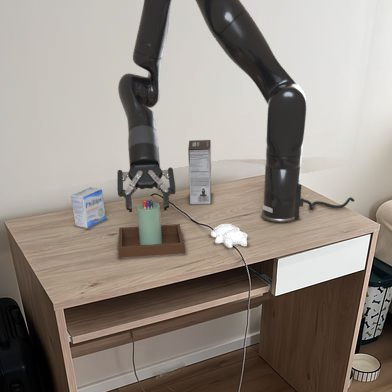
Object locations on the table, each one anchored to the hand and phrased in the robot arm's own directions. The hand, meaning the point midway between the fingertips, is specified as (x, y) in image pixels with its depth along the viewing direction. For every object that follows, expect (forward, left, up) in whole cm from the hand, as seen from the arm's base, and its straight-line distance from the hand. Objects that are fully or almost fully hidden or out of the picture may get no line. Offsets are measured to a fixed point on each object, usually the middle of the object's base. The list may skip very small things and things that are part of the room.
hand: (148, 210), depth 133 cm
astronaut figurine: (-20, +1, -9) cm, 22 cm away
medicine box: (+16, -16, -9) cm, 24 cm away
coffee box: (-16, -30, -9) cm, 35 cm away
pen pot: (0, +2, -8) cm, 8 cm away
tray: (0, +2, -8) cm, 9 cm away
